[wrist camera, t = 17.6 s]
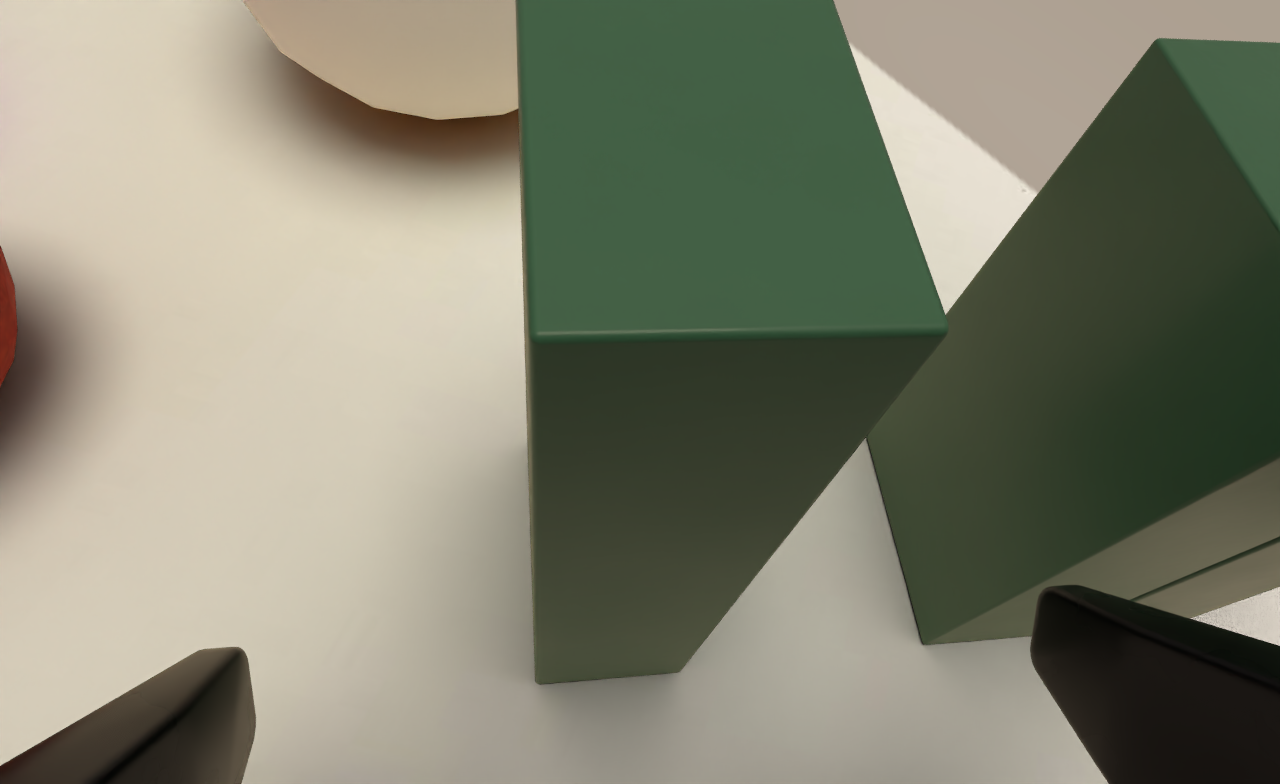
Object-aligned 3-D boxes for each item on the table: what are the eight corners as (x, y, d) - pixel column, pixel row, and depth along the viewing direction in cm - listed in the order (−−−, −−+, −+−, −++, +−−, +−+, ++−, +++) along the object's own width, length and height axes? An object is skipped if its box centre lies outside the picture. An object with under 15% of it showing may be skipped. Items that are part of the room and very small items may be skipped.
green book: (680, 672, 16) (956, 331, 6) (535, 685, 16) (527, 339, 5) (652, 436, 19) (800, -101, 8) (527, 441, 19) (511, -120, 8)
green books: (1174, 624, 18) (1874, 378, 9) (921, 645, 17) (1393, 396, 8) (1084, 414, 21) (1540, 51, 11) (861, 422, 20) (1155, 35, 10)
